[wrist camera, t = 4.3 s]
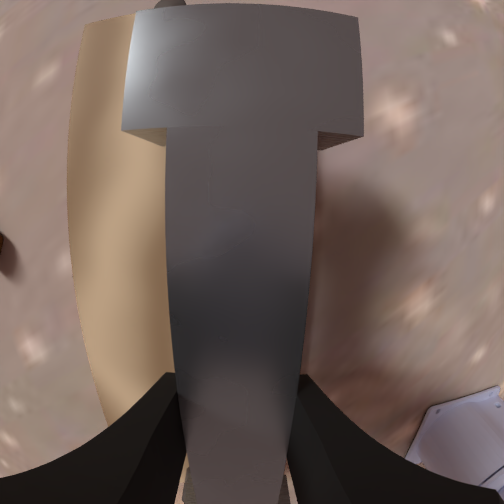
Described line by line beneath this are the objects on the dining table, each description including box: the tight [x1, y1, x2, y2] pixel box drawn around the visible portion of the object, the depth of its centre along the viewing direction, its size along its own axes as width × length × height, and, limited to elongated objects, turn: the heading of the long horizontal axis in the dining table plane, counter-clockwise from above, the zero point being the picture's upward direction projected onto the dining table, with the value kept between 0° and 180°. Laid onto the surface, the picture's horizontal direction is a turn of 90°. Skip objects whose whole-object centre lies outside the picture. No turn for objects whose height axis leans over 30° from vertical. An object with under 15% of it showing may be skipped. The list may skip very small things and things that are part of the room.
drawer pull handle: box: [121, 3, 364, 504], centre depth 9 cm, size 5×21×4 cm, turn 178°
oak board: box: [67, 0, 191, 502], centre depth 15 cm, size 12×32×4 cm, turn 179°
